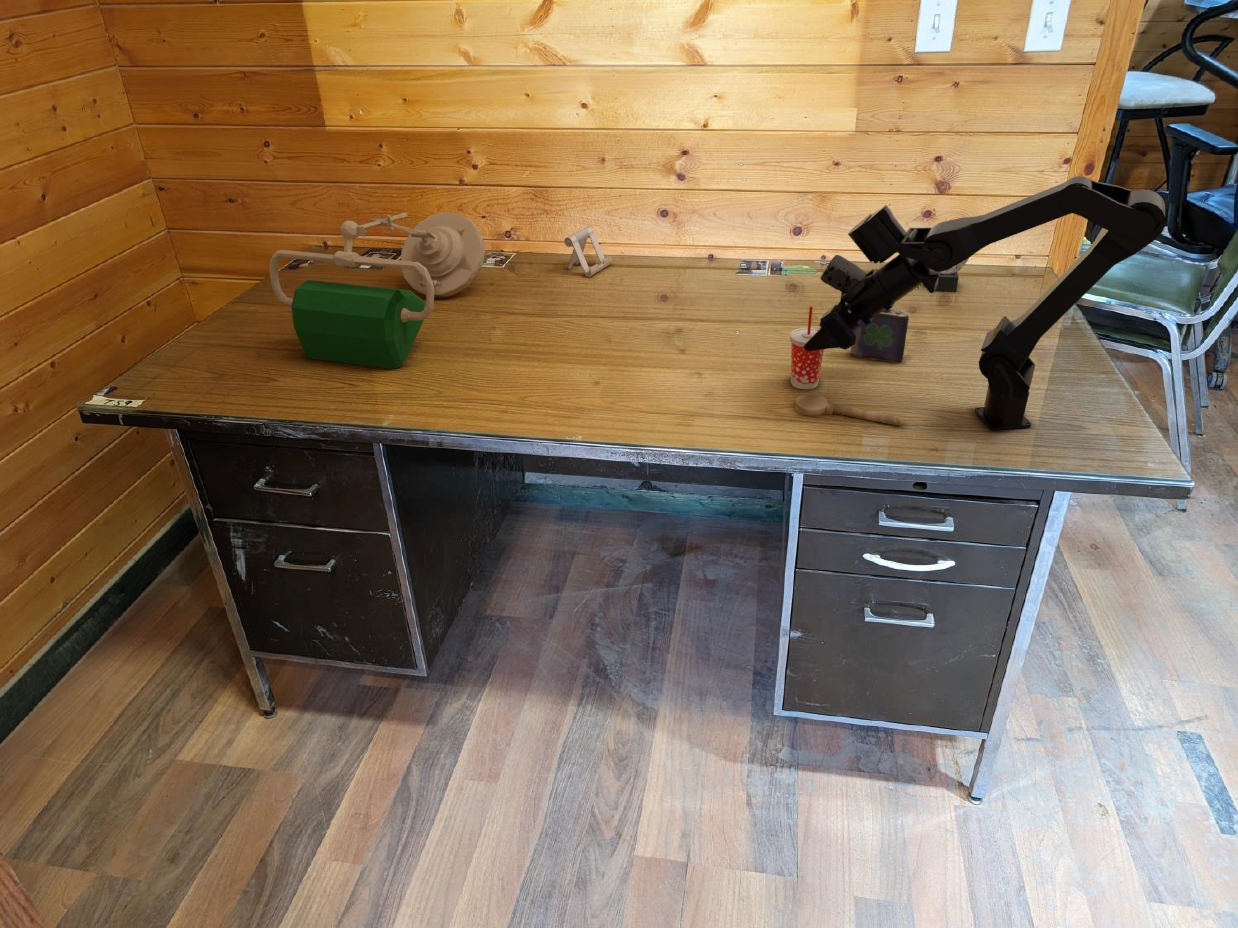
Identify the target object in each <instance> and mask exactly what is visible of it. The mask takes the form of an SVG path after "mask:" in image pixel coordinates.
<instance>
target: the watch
mask: <svg viewBox="0 0 1238 928" xmlns="http://www.w3.org/2000/svg"><path fill="white" fill-rule="evenodd" d="M969 259H970V257H969V258H968V259H966V260H965V261H963V262H961V263H959V264H958V265H956V266H954V267H952V268H950V269H949V270H946V271H942V272H941V274H940V276H939V278H938V285H937V287H936V289H935V291H934V292H949V293H951V292H952V293H956V292H957V290H958V283H959V279H960V278H959V274H958V273H959V272H960V271H961V270H962V269H963V268H964V266H965V265H967V262H968V261H969Z"/></svg>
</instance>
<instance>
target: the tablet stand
mask: <svg viewBox="0 0 1238 928" xmlns="http://www.w3.org/2000/svg"><path fill="white" fill-rule="evenodd" d="M588 239H589V240H590V242H591V244H592V247H593V249H594V251H595V255H596V257H597V259H598V261H599V263H595V264H593V265H592V266H590V267H589V265H588V262H587V260H586V258H585V255H584V251H585V248H586V245H587V242H588ZM563 242H564V245H565V246H566V247H568V248H572V249H573V250H572V253H571V256H570V259H569V262H568V265H567V270H570V269H572V267H573V265H574V263H575V266H577V265H579V264H580V266H581V270H582V271H583V274H584V275H585V277H587V278H590V277H592V276H594V275H595V274H597V273H598V272H601V270H604V269H605V268H607V267H609V266H610V265H611V264H612V263H613V259H612V256H611V255H609V256H607V257H605V256H604V253H603V251H602V248H601V246H600V243H599V241H598V238H597V236H596V233H595V230H594V228H593V227H592V226H590V225H587V226H586V227H583V228H582V229H580V230H578V231H576V232H574V233H572V234H570V235H569V236H566V237H565V238H564V240H563Z"/></svg>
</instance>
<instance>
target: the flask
mask: <svg viewBox="0 0 1238 928" xmlns="http://www.w3.org/2000/svg"><path fill="white" fill-rule="evenodd" d="M909 320H910V319H909V313H908V312H906V311H902V310H901V309H898V308H896V309H893V308H891V309H889V310H888V311H887V310H886V309H885V310H883V311H882V312H880V313H879V314H877V315H876V316H875V317H874V318H873V319H872V321H871V322H870V323H869V324H867V325H865V324H864V322H863V321H862V320H861V319H860V320H859V322H858V324H859V325H860V326H861V335H860V337H859V338H858V340H857V342H856V343H855V344H854V345H853V346H851V347H850V356H853V357H855V358H858V359H861V358H864V359H868V360H873V361H881V362H887V363H894V364H900V363H902V362H903V359H904V354H905V348H906V340H907V332H908V328H909Z"/></svg>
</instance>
